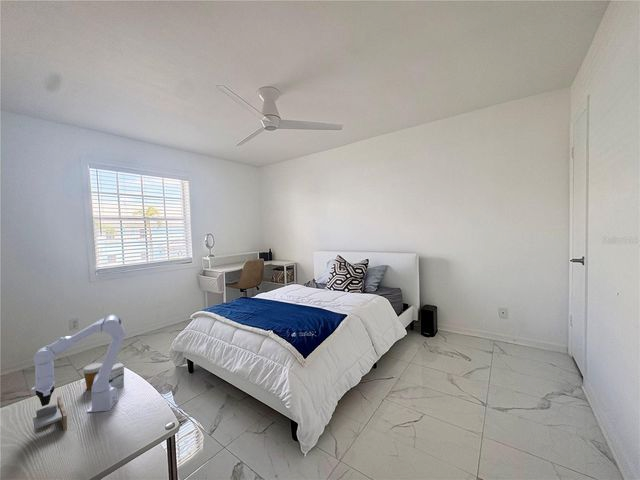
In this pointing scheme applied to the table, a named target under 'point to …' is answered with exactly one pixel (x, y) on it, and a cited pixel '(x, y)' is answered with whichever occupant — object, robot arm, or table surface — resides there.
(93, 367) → the disposable coffee cup
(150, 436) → the table surface
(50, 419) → the slate cover
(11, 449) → the table surface
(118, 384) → the ink box
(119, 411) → the table surface
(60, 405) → the walnut track wall
